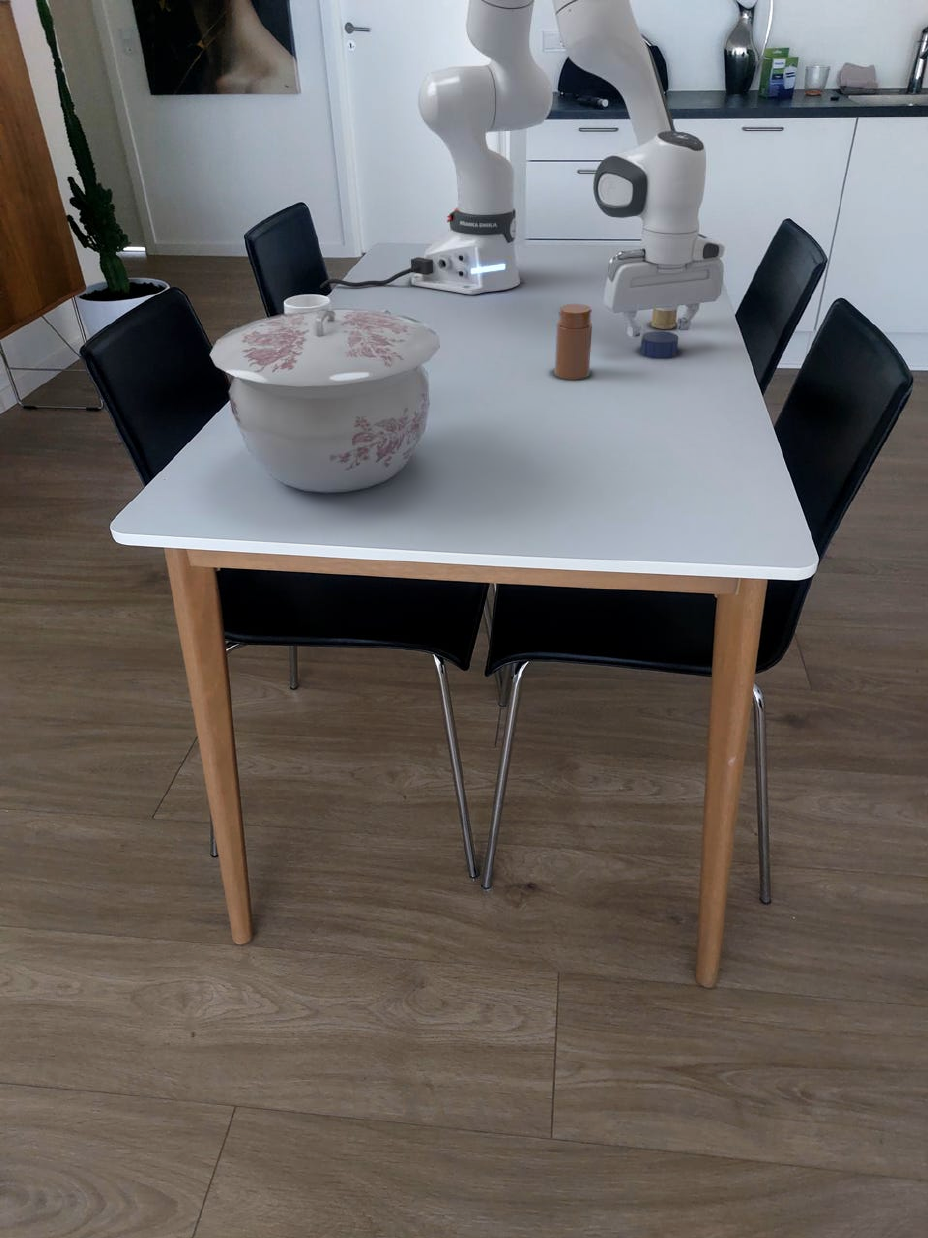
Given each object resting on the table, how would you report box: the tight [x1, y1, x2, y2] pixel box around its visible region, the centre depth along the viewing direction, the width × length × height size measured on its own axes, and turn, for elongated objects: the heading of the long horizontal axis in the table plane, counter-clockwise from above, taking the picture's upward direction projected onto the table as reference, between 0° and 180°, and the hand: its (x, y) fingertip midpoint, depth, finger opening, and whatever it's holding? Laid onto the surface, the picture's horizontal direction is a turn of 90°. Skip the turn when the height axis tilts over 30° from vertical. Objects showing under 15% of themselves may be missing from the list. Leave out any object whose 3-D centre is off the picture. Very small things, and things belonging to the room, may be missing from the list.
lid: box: [640, 330, 680, 359], centre depth 159 cm, size 6×6×3 cm
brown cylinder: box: [554, 303, 593, 381], centre depth 149 cm, size 6×6×10 cm
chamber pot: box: [209, 307, 441, 494], centre depth 118 cm, size 28×28×21 cm
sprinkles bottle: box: [650, 306, 679, 330], centre depth 167 cm, size 5×5×14 cm
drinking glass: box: [283, 294, 333, 314], centre depth 139 cm, size 7×7×15 cm
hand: (658, 332), depth 159 cm, fingers open, 8 cm apart
